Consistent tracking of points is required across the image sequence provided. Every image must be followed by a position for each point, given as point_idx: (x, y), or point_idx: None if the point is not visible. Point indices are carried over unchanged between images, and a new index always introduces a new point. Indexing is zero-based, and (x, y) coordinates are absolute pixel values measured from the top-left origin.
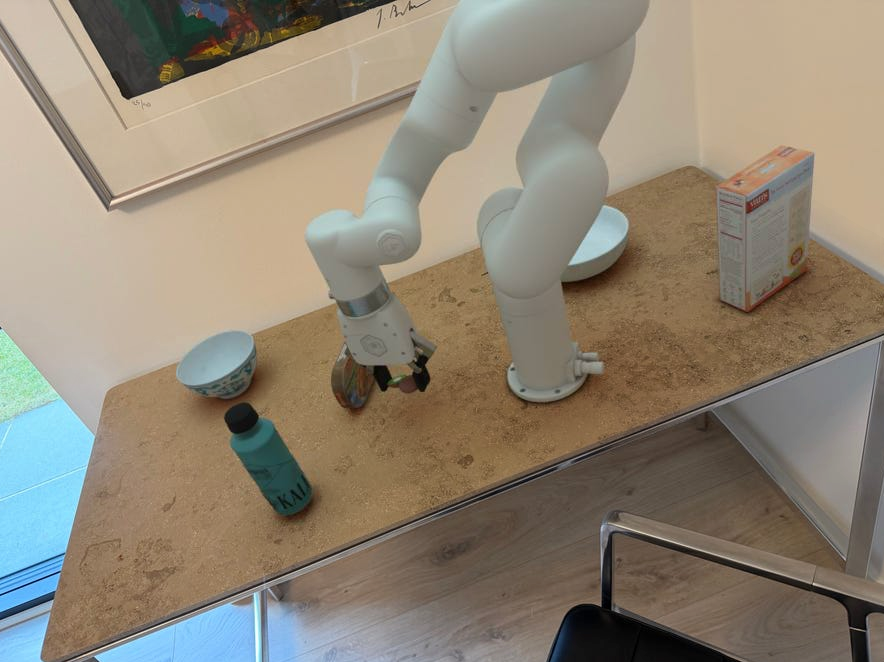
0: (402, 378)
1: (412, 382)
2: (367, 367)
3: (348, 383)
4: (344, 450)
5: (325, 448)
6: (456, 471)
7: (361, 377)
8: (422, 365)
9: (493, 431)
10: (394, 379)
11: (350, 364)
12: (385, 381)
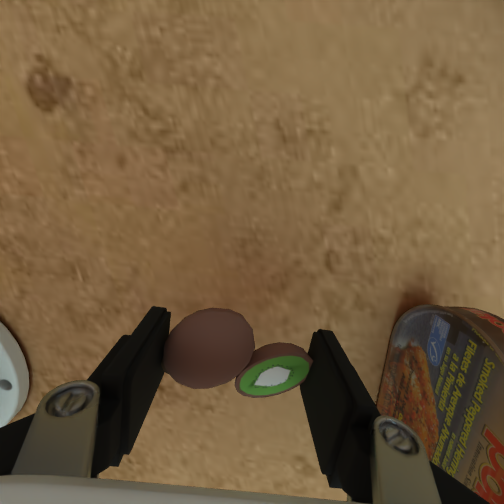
0: (248, 378)
1: (179, 346)
2: (421, 467)
3: (475, 385)
4: (436, 161)
5: (500, 174)
6: (62, 44)
7: (417, 409)
8: (11, 432)
9: (7, 195)
10: (285, 379)
11: (484, 471)
12: (316, 370)
